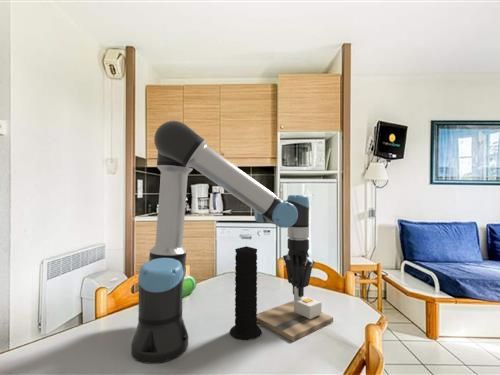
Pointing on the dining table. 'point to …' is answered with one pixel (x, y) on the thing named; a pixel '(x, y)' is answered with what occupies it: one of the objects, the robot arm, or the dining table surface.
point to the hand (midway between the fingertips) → (298, 304)
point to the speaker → (188, 285)
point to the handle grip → (246, 295)
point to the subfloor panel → (291, 321)
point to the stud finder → (307, 307)
